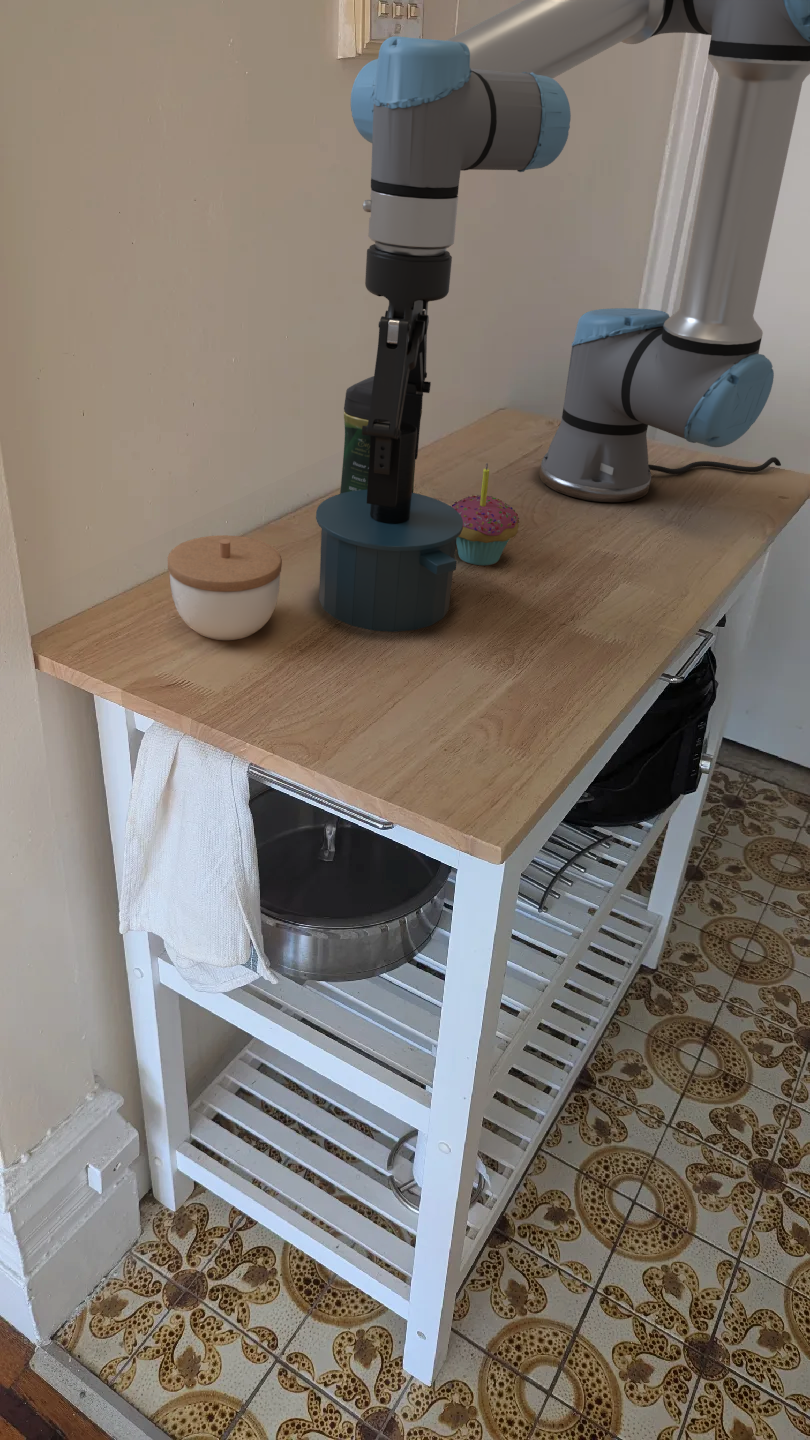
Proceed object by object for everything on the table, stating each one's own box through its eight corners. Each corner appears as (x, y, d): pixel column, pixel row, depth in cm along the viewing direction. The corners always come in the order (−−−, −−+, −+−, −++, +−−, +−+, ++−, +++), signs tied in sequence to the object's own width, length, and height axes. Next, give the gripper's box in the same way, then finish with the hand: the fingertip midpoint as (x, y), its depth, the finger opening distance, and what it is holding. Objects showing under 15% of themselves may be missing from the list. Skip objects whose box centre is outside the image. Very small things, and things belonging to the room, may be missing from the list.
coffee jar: (388, 555, 123) (400, 394, 113) (327, 539, 125) (333, 380, 115) (420, 527, 130) (434, 374, 120) (362, 513, 133) (371, 362, 123)
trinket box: (237, 667, 99) (236, 576, 94) (147, 634, 103) (142, 544, 98) (301, 624, 107) (304, 537, 102) (216, 595, 111) (214, 510, 106)
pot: (384, 559, 122) (390, 479, 117) (490, 628, 109) (502, 543, 104) (282, 582, 115) (283, 499, 109) (383, 660, 102) (389, 570, 97)
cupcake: (509, 577, 120) (523, 475, 114) (435, 566, 121) (445, 464, 115) (517, 548, 127) (531, 450, 121) (448, 537, 128) (458, 440, 122)
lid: (404, 490, 116) (412, 397, 110) (491, 540, 106) (504, 441, 101) (288, 513, 108) (289, 414, 103) (370, 568, 98) (377, 463, 93)
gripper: (391, 222, 104) (377, 435, 115) (338, 266, 83) (329, 521, 94) (467, 230, 103) (446, 444, 115) (433, 276, 82) (412, 532, 94)
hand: (393, 479), depth 104 cm, fingers open, 13 cm apart
